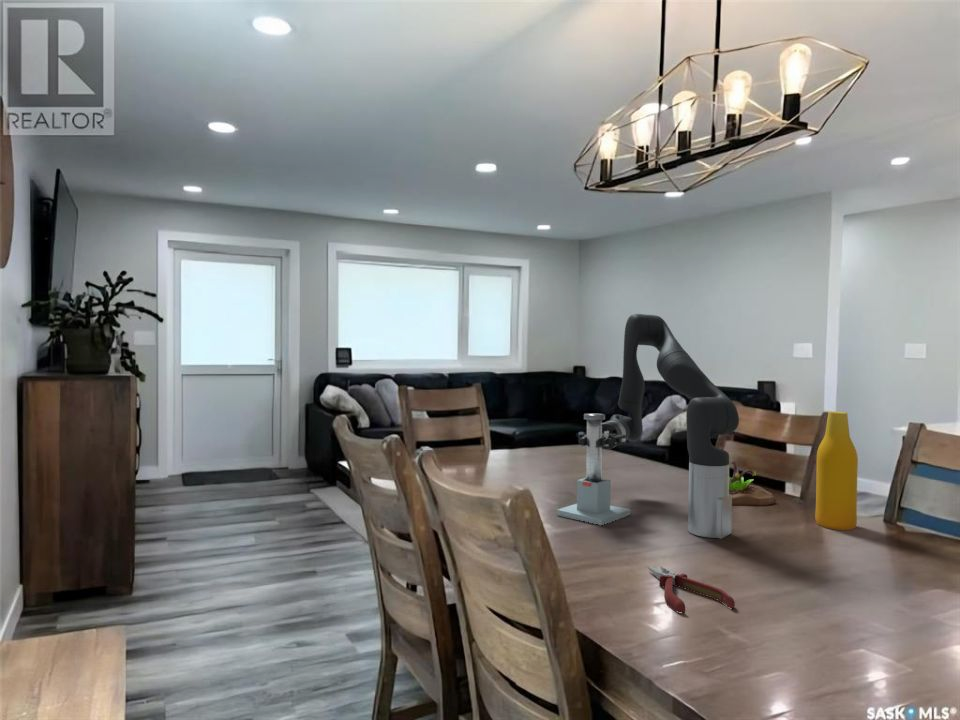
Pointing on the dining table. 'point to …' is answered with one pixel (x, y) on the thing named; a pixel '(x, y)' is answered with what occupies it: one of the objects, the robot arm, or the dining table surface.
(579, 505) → the stand base
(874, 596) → the dining table surface
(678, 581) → the pliers
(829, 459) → the beer bottle
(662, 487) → the dining table surface
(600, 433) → the column
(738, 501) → the plant
